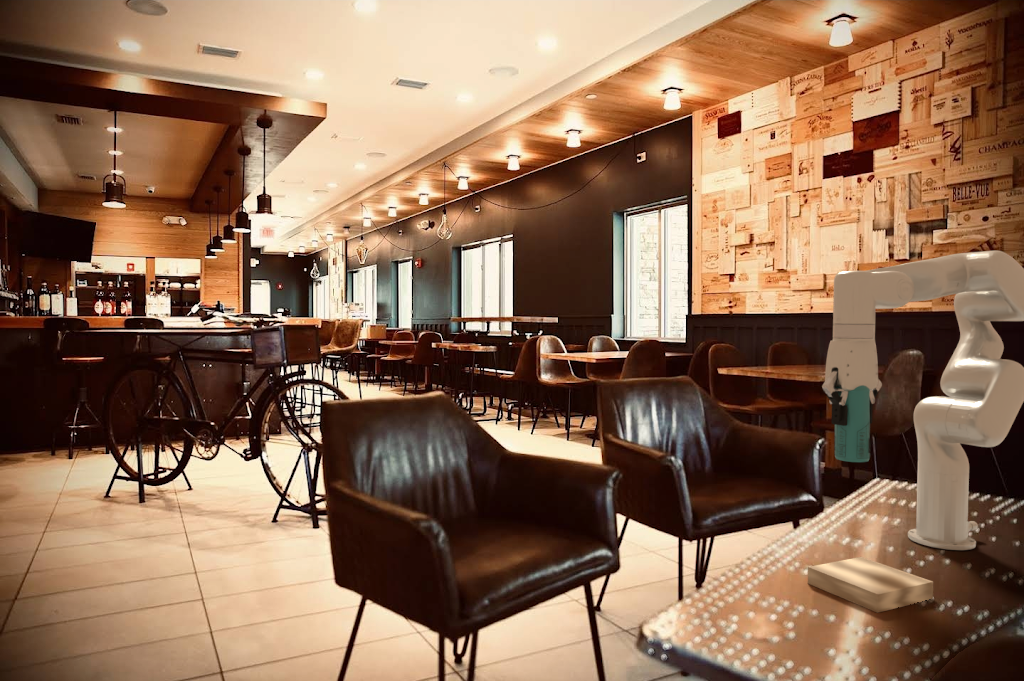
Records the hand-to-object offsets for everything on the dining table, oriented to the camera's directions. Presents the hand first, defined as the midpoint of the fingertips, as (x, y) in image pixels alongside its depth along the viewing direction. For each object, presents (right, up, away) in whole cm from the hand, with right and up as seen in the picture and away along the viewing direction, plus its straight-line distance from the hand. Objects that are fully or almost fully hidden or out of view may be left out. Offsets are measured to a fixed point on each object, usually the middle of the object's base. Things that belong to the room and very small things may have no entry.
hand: (851, 423), depth 139 cm
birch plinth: (-5, -28, -16) cm, 32 cm away
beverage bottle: (0, -9, 0) cm, 9 cm away
